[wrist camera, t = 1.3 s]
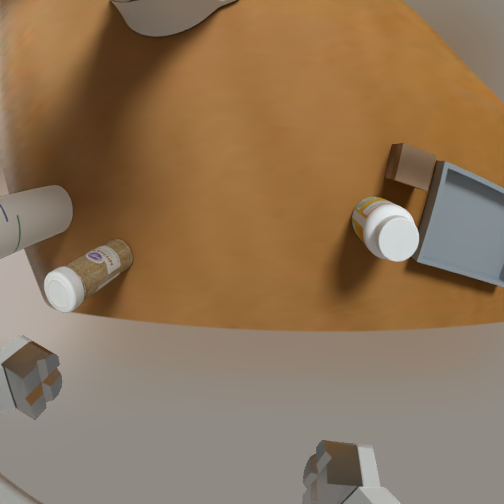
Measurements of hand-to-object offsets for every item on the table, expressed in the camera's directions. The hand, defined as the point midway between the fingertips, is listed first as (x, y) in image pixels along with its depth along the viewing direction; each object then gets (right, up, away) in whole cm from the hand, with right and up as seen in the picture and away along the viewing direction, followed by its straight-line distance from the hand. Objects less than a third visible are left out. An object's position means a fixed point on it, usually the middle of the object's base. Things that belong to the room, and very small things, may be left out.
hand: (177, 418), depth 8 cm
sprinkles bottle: (-16, +4, +32) cm, 36 cm away
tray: (+30, +8, +25) cm, 40 cm away
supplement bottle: (+16, +8, +27) cm, 33 cm away
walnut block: (+19, +15, +25) cm, 35 cm away
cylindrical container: (-26, +11, +32) cm, 43 cm away
